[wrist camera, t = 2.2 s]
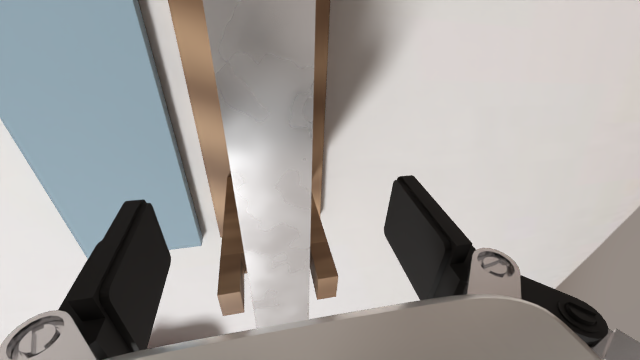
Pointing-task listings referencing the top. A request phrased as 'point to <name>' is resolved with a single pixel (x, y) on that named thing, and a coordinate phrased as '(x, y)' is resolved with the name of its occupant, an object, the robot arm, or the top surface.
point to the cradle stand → (214, 151)
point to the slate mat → (92, 115)
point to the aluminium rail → (269, 142)
